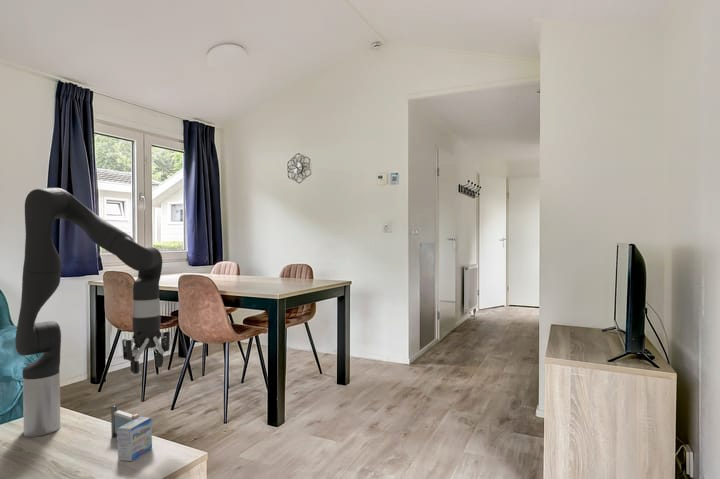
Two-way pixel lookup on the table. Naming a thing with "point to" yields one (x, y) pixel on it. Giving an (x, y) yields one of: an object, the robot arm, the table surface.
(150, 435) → the medicine box
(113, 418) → the gate post
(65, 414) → the table surface
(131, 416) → the gate
